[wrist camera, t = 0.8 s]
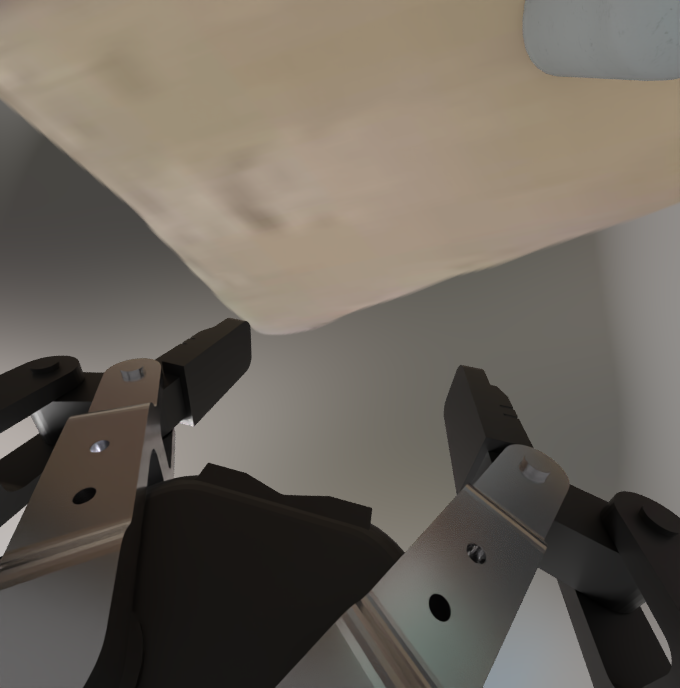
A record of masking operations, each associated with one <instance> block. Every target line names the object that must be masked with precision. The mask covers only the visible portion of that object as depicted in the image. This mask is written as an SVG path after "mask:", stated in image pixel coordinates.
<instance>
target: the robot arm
mask: <svg viewBox="0 0 680 688" xmlns="http://www.w3.org/2000/svg"><path fill="white" fill-rule="evenodd" d="M250 362H251V332H250V324H249V323H248V322H247V321H243V320H238V319H233V318H227V319H225V320H224V321H222V322H221V323H219V324H218V325H217V326H215V327H212V328H209V329H206V330H203V331H200V332H198V333H197V334H195V335H194V336H192V337H191V338H190V339H187V340H186V341H184V342H183V343H182V344H180V345H178V346H176V347H175V348H173V349H171V350H170V351H168V352H167V353H165V354H163V355H162V356H161V357H159V358H157V359H156V360H153V359H147V358H140V359H131V360H127V361H123V362H120V363H118V364H115V365H113V366H112V367H110V368H109V369H107V370H106V372H104V373H91V372H89V373H88V372H87V373H86V372H83V371H82V369H81V366H80V363H79V361H78V359H76V358H74V357H71V356H51V357H45V358H40V359H37V360H33V361H31V362H28V363H25V364H23V365H21V366H19V367H16V368H14V369H12V370H10V371H7V372H5V373H3V374H1V375H0V433H2V432H3V431H5V430H7V429H8V428H10V427H12V426H13V425H15V424H16V423H18V422H20V421H22V420H23V419H25V418H27V417H28V416H31V417H32V419H33V421H34V423H35V425H36V427H37V429H38V431H39V434H37V435H36V436H35V437H33V438H32V439H30V440H29V441H27V442H26V443H24V444H23V445H21V446H20V447H18V448H17V449H15V450H14V451H12V452H11V453H9V454H8V455H6V456H5V457H3V458H2V459H0V527H1V526H2V525H3V524H4V523H6V522H7V521H8V520H9V519H10V518H12V517H13V516H14V515H15V514H16V513H17V512H19V511H20V510H21V509H22V508H23V507H24V506H26V505H27V506H26V508H25V511H24V513H23V515H22V517H21V519H20V521H19V523H18V525H17V528H16V530H15V532H14V534H13V536H12V538H11V540H10V542H9V545H8V546H7V549H6V551H5V553H4V555H3V556H1V557H0V688H483V685H484V683H485V681H486V679H487V677H488V674H489V672H490V670H491V668H492V666H493V663H494V661H495V659H496V657H497V655H498V653H499V650H500V648H501V646H502V644H503V642H504V639H505V637H506V635H507V633H508V631H509V629H510V627H511V624H512V622H513V620H514V618H515V616H516V614H517V611H518V609H519V607H520V605H521V603H522V601H523V598H524V596H525V594H526V592H527V590H528V588H529V585H530V583H531V581H532V579H533V577H534V575H535V572H536V570H537V568H540V569H542V570H544V571H545V572H547V573H548V574H550V575H552V576H554V577H555V578H557V581H558V584H559V586H560V589H561V592H562V595H563V598H564V601H565V604H566V607H567V610H568V613H569V616H570V619H571V622H572V625H573V627H574V630H575V633H576V636H577V639H578V642H579V645H580V648H581V651H582V654H583V657H584V660H585V662H586V666H587V668H588V671H589V674H590V677H591V680H592V683H593V686H594V688H680V518H679V517H678V516H677V515H675V514H674V513H673V512H671V511H670V510H668V509H667V508H665V507H664V506H662V505H661V504H659V503H657V502H655V501H653V500H651V499H649V498H647V497H645V496H642V495H639V494H636V493H632V492H626V491H623V492H619V493H617V494H616V495H615V496H614V497H613V498H612V499H611V500H610V501H609V502H607V501H604V500H602V499H600V498H598V497H596V496H594V495H592V494H589V493H587V492H585V491H583V490H581V489H579V488H576V487H574V486H572V485H570V484H569V479H568V477H567V475H566V473H565V472H564V470H563V469H562V468H561V467H560V466H559V465H558V464H557V463H556V462H555V461H554V460H553V459H551V458H550V457H549V456H547V455H546V454H544V453H542V452H540V451H539V450H536V449H534V448H533V446H532V444H531V442H530V440H529V438H528V436H527V434H526V432H525V430H524V428H523V426H522V424H521V422H520V420H519V419H517V415H516V412H515V410H513V407H512V405H511V403H510V401H509V399H508V397H507V396H506V395H505V394H504V393H503V392H502V391H501V390H500V389H499V388H498V387H497V386H493V385H490V383H489V381H488V379H487V376H486V374H485V372H484V370H483V369H478V368H473V367H469V366H464V365H460V366H459V367H458V369H457V371H456V374H455V376H454V379H453V382H452V384H451V387H450V390H449V393H448V396H447V398H446V401H445V406H444V420H445V426H446V432H447V438H448V444H449V450H450V456H451V463H452V469H453V475H454V480H455V487H456V493H457V496H456V497H455V498H454V499H453V500H452V501H451V502H450V503H449V505H448V506H447V507H446V508H445V509H444V510H443V511H442V512H441V514H440V515H439V516H438V517H437V518H436V519H435V520H434V521H433V522H432V524H431V525H430V526H429V527H428V528H427V529H426V530H425V531H424V532H423V533H422V534H421V536H420V537H419V538H418V539H417V540H416V541H415V542H414V543H413V544H412V546H411V547H410V548H409V549H408V550H407V551H406V552H404V551H403V550H402V549H401V548H400V547H399V546H398V544H397V543H396V542H395V541H393V540H392V539H391V538H390V537H389V536H388V535H387V534H386V533H384V532H383V531H382V530H380V529H379V528H378V527H376V526H374V525H372V524H371V523H370V522H371V514H372V508H370V507H366V506H363V505H359V504H356V503H352V502H348V501H345V500H341V499H338V498H334V497H330V496H298V495H297V496H296V495H283V494H280V493H278V492H276V491H275V490H273V489H272V488H270V487H268V486H266V485H265V484H263V483H262V482H260V481H258V480H257V479H255V478H253V477H252V476H250V475H248V474H247V473H244V472H240V471H236V470H233V469H229V468H226V467H222V466H219V465H215V464H211V463H208V464H207V465H206V466H205V468H204V469H203V470H202V472H201V473H200V474H199V475H195V476H184V477H179V478H174V463H175V462H174V461H175V429H174V427H175V426H176V425H177V424H178V423H182V424H186V425H190V426H195V425H196V424H197V423H198V422H199V421H200V420H201V418H202V417H203V416H204V415H205V414H206V413H207V412H208V411H209V410H210V409H211V408H212V407H213V406H214V405H215V404H216V403H217V402H218V401H219V399H220V398H222V396H223V395H224V394H225V393H226V392H227V391H228V390H229V389H230V388H231V387H232V386H233V385H234V384H235V383H236V382H237V381H238V380H239V378H241V376H242V375H243V374H244V373H245V372H246V371H247V370H248V368H249V366H250ZM645 602H646V603H647V605H648V606H649V608H650V610H651V612H652V614H653V615H654V617H655V619H656V621H657V623H658V624H659V626H660V628H661V630H662V632H663V634H664V636H665V638H666V640H667V642H668V645H669V648H670V651H671V657H672V665H671V664H670V662H669V660H668V659H667V657H666V655H665V653H664V651H663V649H662V647H661V645H660V643H659V641H658V639H657V638H656V636H655V634H654V632H653V630H652V628H651V626H650V624H649V622H648V620H647V619H646V617H645V615H644V613H643V611H642V609H641V607H640V606H641V605H642V604H643V603H645Z"/></svg>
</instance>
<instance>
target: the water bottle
mask: <svg viewBox="0 0 680 688" xmlns="http://www.w3.org/2000/svg"><path fill="white" fill-rule="evenodd" d="M523 38H524V43H525V48H526V51H527V53H528V55H529V57H530V59H531V61H532V62H533V63H534V64H535V65H536V67H537V68H538V69H540V70H542V71H543V72H545V73H546V74H550V75H554V76H563V77H583V78H603V79H623V80H643V81H654V80H672V79H677V78H680V0H526V1H525V6H524V13H523Z"/></svg>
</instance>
